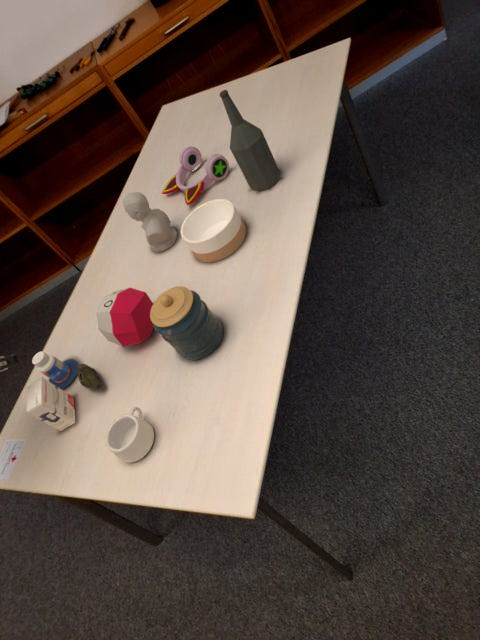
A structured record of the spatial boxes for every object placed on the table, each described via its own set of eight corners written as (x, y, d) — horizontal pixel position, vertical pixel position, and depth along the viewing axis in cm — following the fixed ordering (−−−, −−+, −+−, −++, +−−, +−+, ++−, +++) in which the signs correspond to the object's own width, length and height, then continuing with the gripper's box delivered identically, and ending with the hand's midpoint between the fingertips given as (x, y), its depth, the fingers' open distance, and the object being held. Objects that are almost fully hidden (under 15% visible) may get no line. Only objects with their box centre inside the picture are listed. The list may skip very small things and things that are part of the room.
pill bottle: (54, 386, 123) (28, 369, 116) (56, 371, 127) (30, 354, 120) (70, 378, 123) (44, 361, 116) (71, 363, 126) (46, 345, 119)
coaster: (48, 396, 123) (47, 396, 123) (52, 368, 130) (50, 367, 129) (77, 383, 121) (76, 382, 121) (80, 355, 128) (78, 354, 127)
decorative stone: (75, 393, 119) (62, 385, 115) (86, 368, 123) (74, 359, 119) (105, 394, 114) (93, 385, 110) (116, 368, 118) (104, 358, 114)
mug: (149, 464, 96) (132, 454, 91) (114, 463, 100) (97, 454, 96) (162, 412, 102) (148, 401, 98) (129, 413, 107) (114, 403, 102)
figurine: (152, 259, 140) (114, 215, 126) (152, 234, 148) (116, 190, 134) (178, 247, 138) (142, 201, 124) (176, 223, 146) (143, 176, 132)
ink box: (59, 405, 119) (26, 385, 111) (74, 396, 118) (42, 376, 110) (60, 432, 113) (24, 413, 105) (76, 422, 113) (41, 403, 104)
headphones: (224, 149, 144) (178, 184, 139) (234, 176, 151) (190, 209, 146) (192, 141, 157) (149, 172, 152) (203, 165, 164) (161, 196, 159)
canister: (219, 309, 114) (185, 265, 101) (228, 348, 105) (191, 304, 93) (176, 330, 116) (137, 289, 104) (181, 369, 108) (139, 330, 95)
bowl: (237, 210, 135) (225, 189, 129) (253, 241, 124) (241, 220, 118) (189, 239, 138) (175, 219, 132) (201, 272, 126) (186, 252, 120)
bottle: (270, 166, 142) (229, 77, 120) (286, 175, 135) (246, 83, 114) (245, 185, 142) (200, 99, 120) (260, 196, 135) (215, 107, 113)
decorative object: (132, 311, 105) (78, 309, 109) (148, 358, 114) (97, 354, 118) (156, 278, 117) (106, 277, 121) (169, 323, 125) (122, 321, 129)
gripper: (-27, 354, 93) (30, 338, 109) (-73, 368, 98) (-12, 351, 113) (-16, 387, 94) (40, 367, 109) (-62, 400, 99) (-3, 379, 114)
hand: (13, 359), depth 111 cm, fingers open, 8 cm apart
